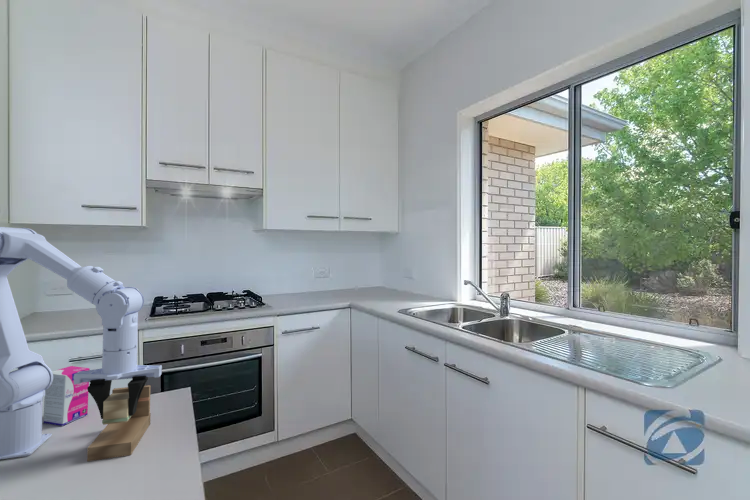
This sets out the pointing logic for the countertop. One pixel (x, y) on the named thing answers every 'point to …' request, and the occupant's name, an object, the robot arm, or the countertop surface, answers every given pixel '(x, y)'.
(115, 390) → the walnut base
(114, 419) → the green-banded taupe cube
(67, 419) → the supplement box
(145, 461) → the countertop surface
